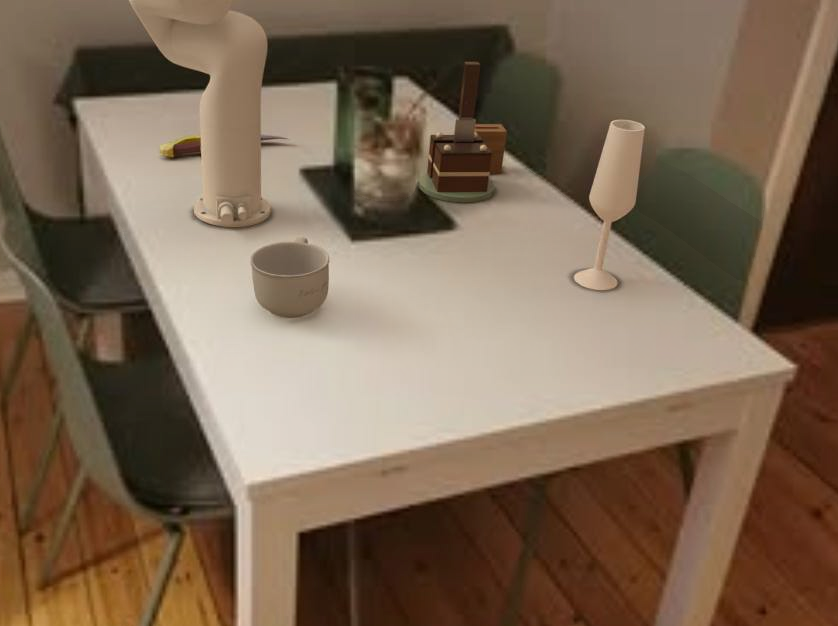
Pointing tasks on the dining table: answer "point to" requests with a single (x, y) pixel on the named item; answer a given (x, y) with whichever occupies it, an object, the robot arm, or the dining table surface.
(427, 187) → the cake plate
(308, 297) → the teacup
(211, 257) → the dining table surface
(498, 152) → the knife holder
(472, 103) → the cake knife
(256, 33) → the robot arm
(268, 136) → the knife
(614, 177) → the champagne flute
